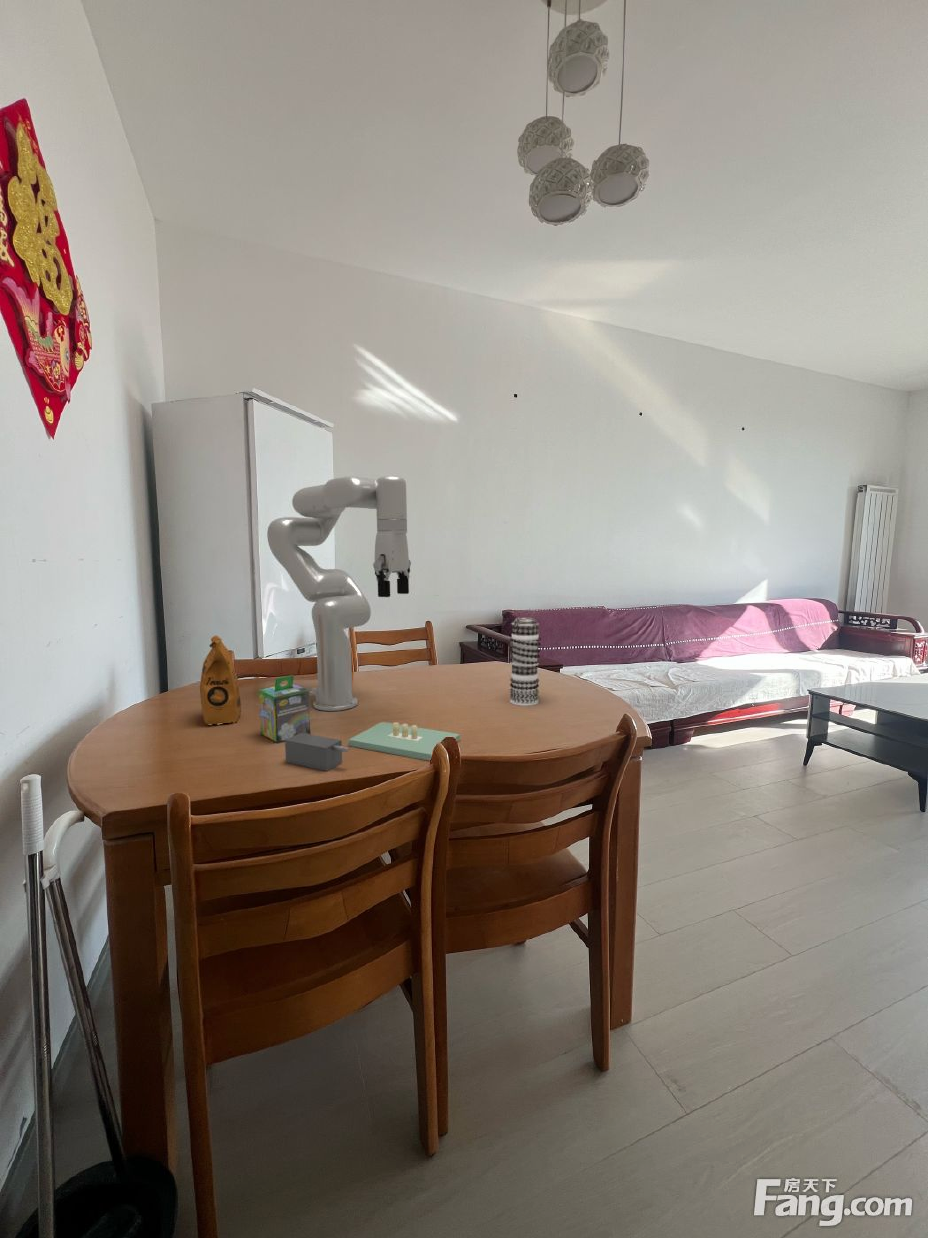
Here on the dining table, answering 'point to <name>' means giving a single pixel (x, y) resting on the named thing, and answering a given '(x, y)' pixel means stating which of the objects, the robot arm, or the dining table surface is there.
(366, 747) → the header board
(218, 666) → the coffee package
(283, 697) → the chalk box
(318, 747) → the plug housing
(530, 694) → the decorative candle
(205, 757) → the dining table surface
